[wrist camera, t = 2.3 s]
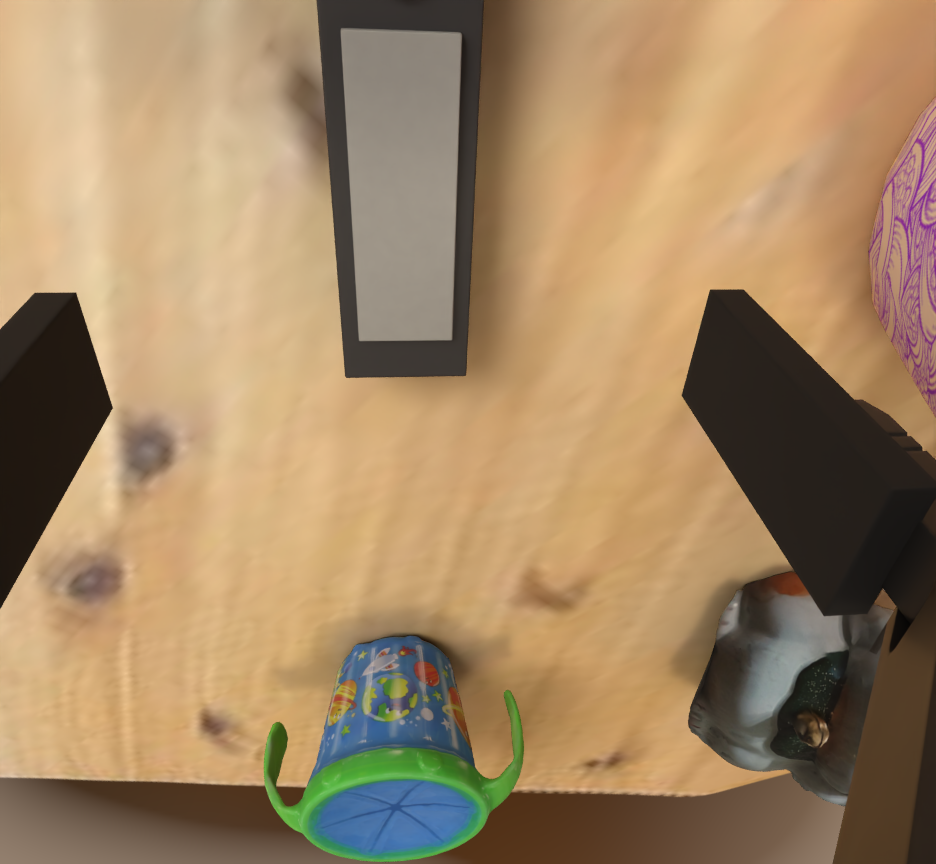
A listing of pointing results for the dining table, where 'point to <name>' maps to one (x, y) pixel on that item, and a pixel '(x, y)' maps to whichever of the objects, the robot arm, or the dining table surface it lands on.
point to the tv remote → (402, 178)
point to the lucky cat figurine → (789, 685)
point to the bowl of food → (909, 255)
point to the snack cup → (394, 759)
